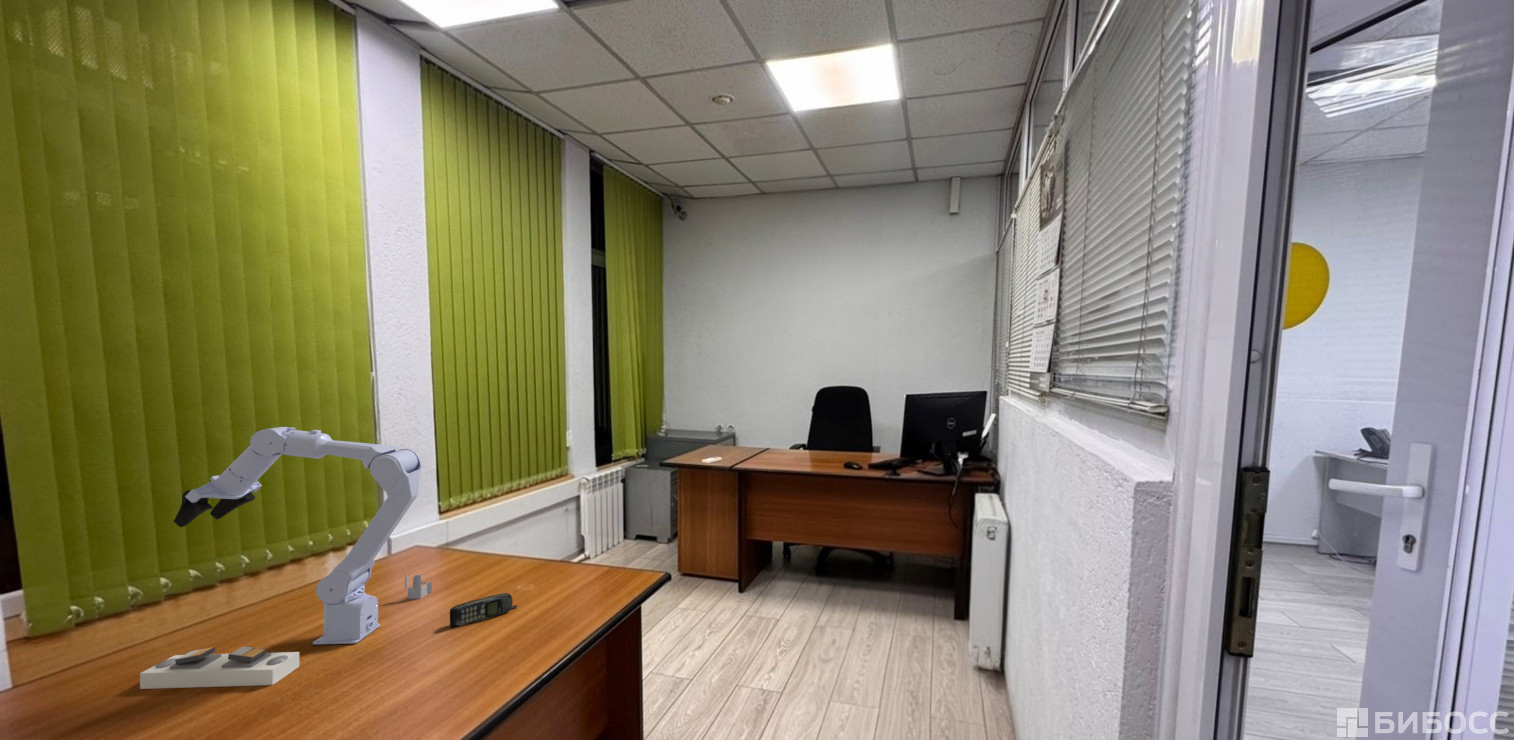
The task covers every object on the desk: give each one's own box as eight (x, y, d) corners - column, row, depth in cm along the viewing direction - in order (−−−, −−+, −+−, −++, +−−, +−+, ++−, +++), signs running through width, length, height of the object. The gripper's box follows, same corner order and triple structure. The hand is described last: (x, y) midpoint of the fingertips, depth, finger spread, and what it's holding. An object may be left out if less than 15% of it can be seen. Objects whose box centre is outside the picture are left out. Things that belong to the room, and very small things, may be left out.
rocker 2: (265, 653, 100) (266, 648, 100) (251, 662, 97) (252, 657, 97) (242, 650, 100) (243, 645, 100) (227, 659, 97) (228, 654, 97)
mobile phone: (450, 610, 117) (518, 591, 126) (448, 605, 119) (515, 587, 129) (450, 631, 117) (519, 610, 126) (448, 626, 119) (516, 606, 129)
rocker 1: (215, 651, 100) (214, 646, 100) (199, 660, 97) (198, 655, 97) (192, 655, 99) (191, 650, 99) (175, 664, 96) (175, 659, 96)
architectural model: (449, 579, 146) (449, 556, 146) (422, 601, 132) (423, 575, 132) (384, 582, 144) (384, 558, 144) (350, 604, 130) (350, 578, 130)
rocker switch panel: (299, 666, 102) (299, 649, 102) (272, 684, 96) (272, 666, 96) (174, 669, 101) (175, 652, 101) (140, 688, 95) (140, 670, 95)
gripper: (260, 457, 118) (216, 502, 116) (197, 463, 103) (145, 515, 102) (283, 476, 118) (239, 521, 116) (223, 485, 103) (172, 537, 102)
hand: (197, 520), depth 109 cm, fingers open, 7 cm apart
